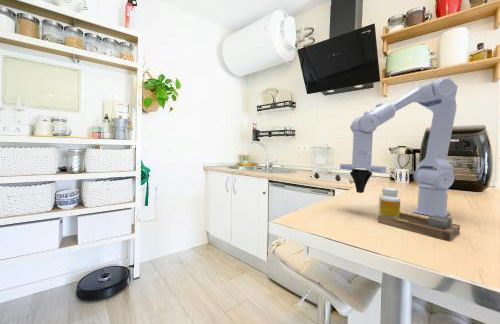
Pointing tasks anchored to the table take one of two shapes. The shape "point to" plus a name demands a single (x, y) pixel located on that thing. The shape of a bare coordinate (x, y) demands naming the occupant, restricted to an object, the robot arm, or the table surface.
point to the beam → (424, 225)
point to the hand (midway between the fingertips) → (360, 192)
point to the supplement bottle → (389, 203)
